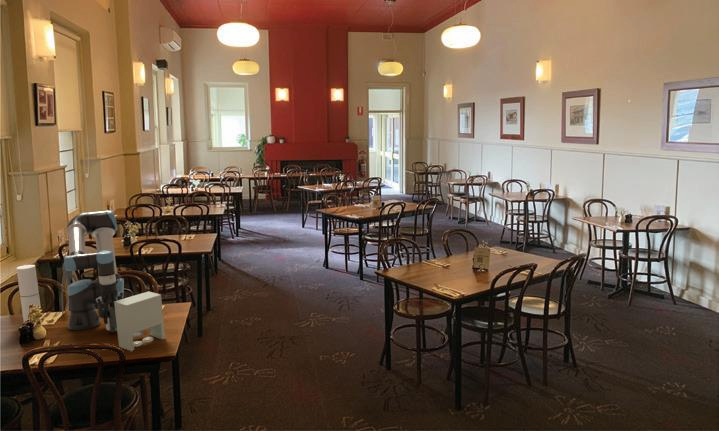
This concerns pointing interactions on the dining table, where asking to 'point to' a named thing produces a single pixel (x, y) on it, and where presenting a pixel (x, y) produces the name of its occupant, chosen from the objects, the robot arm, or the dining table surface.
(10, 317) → the dining table surface
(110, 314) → the scraper
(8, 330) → the dining table surface
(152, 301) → the cabinet
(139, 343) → the coaster
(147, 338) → the coaster
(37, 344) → the dining table surface
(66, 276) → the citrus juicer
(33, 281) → the container
